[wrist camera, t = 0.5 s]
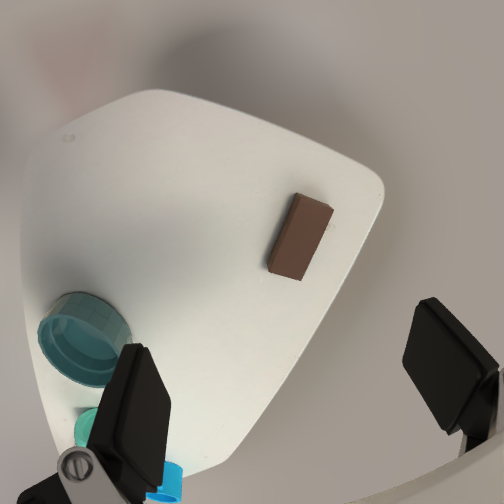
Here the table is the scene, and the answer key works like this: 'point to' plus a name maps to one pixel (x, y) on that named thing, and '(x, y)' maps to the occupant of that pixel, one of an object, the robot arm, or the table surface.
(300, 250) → the small chocolate
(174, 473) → the mug
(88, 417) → the decorative dice
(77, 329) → the bowl
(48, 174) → the table surface
